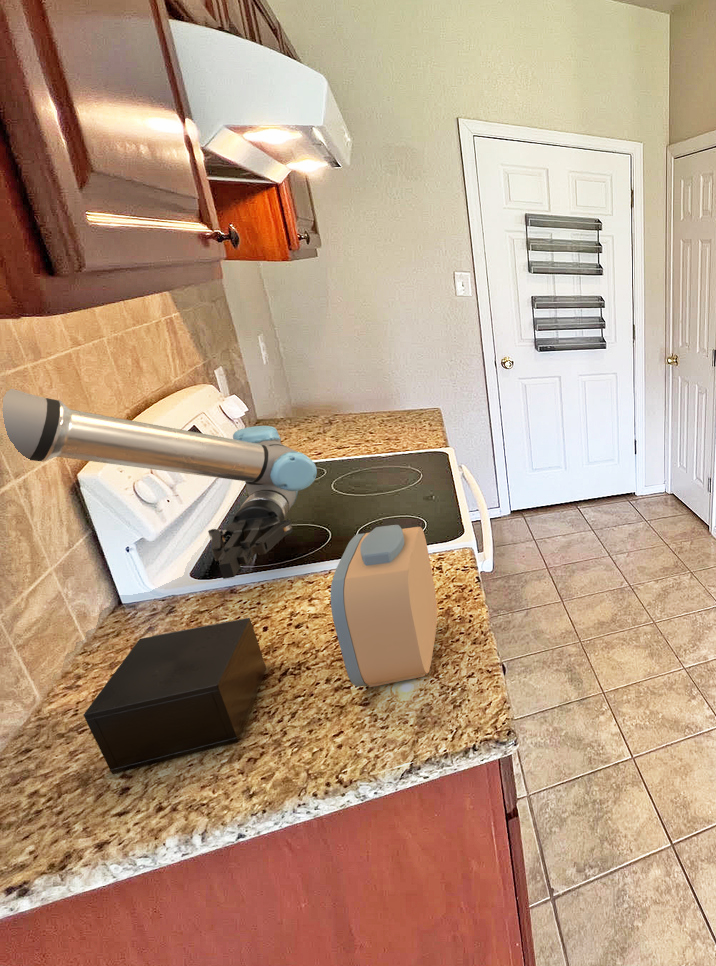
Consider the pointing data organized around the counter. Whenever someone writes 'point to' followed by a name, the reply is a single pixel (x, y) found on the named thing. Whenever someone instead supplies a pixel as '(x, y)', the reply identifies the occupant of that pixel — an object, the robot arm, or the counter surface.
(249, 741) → the counter surface
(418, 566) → the alarm clock
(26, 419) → the robot arm
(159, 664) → the cabinet
